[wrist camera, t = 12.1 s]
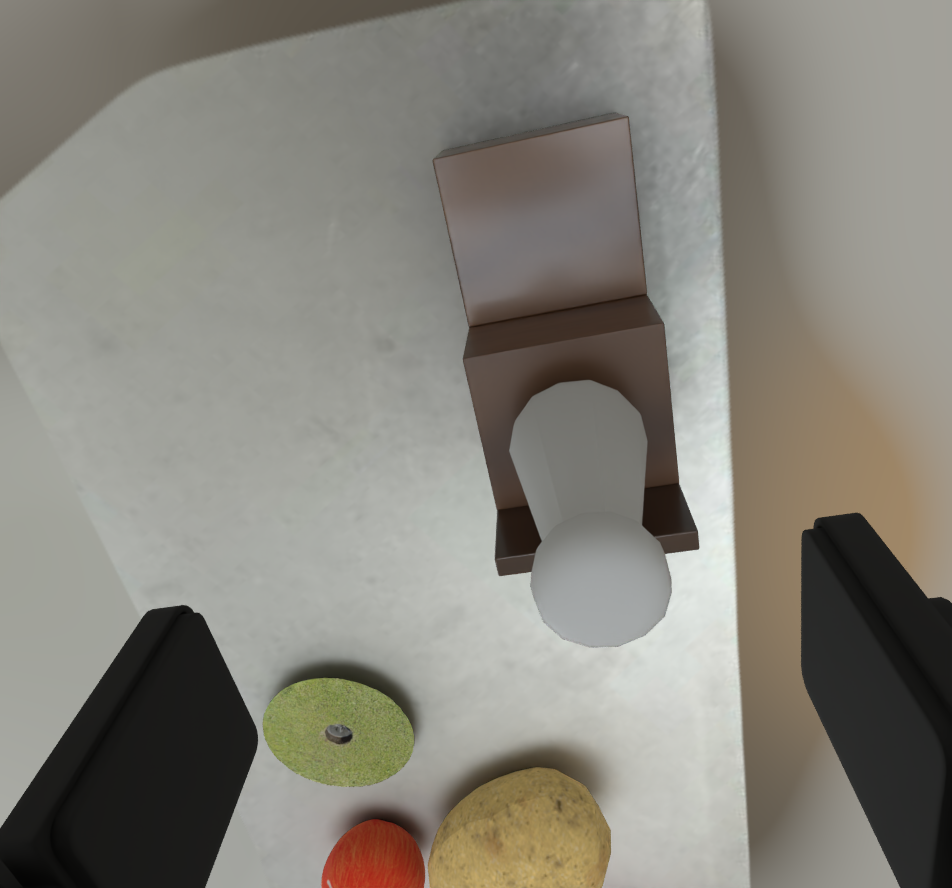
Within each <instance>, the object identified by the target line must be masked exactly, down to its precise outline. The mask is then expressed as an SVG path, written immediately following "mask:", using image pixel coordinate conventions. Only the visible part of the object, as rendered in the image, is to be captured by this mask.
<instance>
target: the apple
mask: <svg viewBox="0 0 952 888" xmlns="http://www.w3.org/2000/svg"><path fill="white" fill-rule="evenodd" d="M424 883H425V867H424V861H423V857H422V854H421V852H420V849H419V847H418V845H417V843H416V841H415V840H414V838H413V837H412V836H411V835H410V834H409V833H408V832H407V831H406V830H404V829H403V828H401V827H400V826H398V825H396V824H394V823H391V822H387V821H383V820H380V819H372V820H367V821H364V822H362V823H360V824H358V825H356V826H355V827H353V828H352V829H350V830H349V831H348V832H347V833H346V834H344V835H343V836H342V837H341V839H340V840H339V841H338V842H337V844H336V845H335V846H334V848H333V850H332V851H331V853H330V855H329V857H328V859H327V861H326V864H325V866H324V870H323V874H322V888H424Z"/></svg>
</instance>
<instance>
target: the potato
mask: <svg viewBox="0 0 952 888" xmlns="http://www.w3.org/2000/svg"><path fill="white" fill-rule="evenodd" d="M610 855H611V830H610V828H609V826H608V824H607V822H606V820H605V818H604V816H603V814H602V812H601V810H600V808H599V806H598V805H597V803H596V802H595V800H594V799H593V797H592V796H591V794H590V793H589V791H588V790H587V788H586V787H585V785H583V784H582V783H580V782H578V781H576V780H574V779H572V778H571V777H569V776H567V775H565V774H563V773H561V772H560V771H558V770H556V769H550V768H540V767H534V768H530V769H525V770H520V771H516V772H513V773H510V774H507V775H504V776H501V777H498V778H496V779H494V780H492V781H490V782H488V783H486V784H484V785H482V786H480V787H478V788H476V789H475V790H474V791H473V792H471V793H470V794H469V795H468V796H466V797H465V798H464V799H463V800H461V801H460V802H459V803H458V804H457V805H456V806H455V807H454V808H453V809H452V810H451V811H450V812H449V813H448V815H447V816H446V818H445V819H444V821H443V822H442V824H441V825H440V827H439V829H438V831H437V834H436V837H435V839H434V842H433V845H432V849H431V853H430V857H429V862H428V873H429V882H430V888H601V887H602V886H603V882H604V878H605V874H606V870H607V866H608V862H609V858H610Z"/></svg>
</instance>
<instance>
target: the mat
mask: <svg viewBox="0 0 952 888" xmlns="http://www.w3.org/2000/svg"><path fill="white" fill-rule="evenodd" d="M407 719H408V718H407V717H406V715H405V714H404V713H403V711H402V710H401V708H400V707H399V706H398V705H396V704H395V703H394V701H393V700H391V699H390V698H389V697H387V696H386V695H384V694H382V693H381V692H379V691H378V690H376V689H373V688H370V687H368V686H366V685H363V684H360V683H357V682H354V681H348V680H345V679H339V678H336V679H334V678H319V679H317V678H316V679H310V680H306V681H300V682H298V683H296V684H293V685H291V686H289V687H287V688H284V690H282V691H280V692H279V693H278V694H277V695H276V696H275V697H274V699H272V701H271V702H270V704H269V706H268V707H267V709H266V712H265V714H264V718H263V730H264V736H265V740H266V741H267V744H268V746H269V748H270V750H271V751H272V752H273V753H274V755H275V756H276V757H277V759H278V760H280V761H281V762H282V763H283V764H284V765H286V766H287V767H288V768H289V769H291V770H292V771H294V772H295V773H296V774H300V775H301V776H303V777H305V778H308V779H309V780H310V779H311V780H312V781H315V782H320V783H322V784H327V785H334V786H342V787H347V786H349V787H350V786H351V787H352V786H353V787H354V786H358V787H361V786H365V785H372V784H375V783H378V782H381V781H383V780H385V779H386V778H387V779H388V778H389V777H390V776H392V775H394V774H396V773H397V772H398V771H400V769H401V768H402V767H404V765H405V764H406V763H407V761H408V760H409V759H410V757H411V754H412V752H413V746H414V734H413V729H412V726H411V723H410V722H409V720H407Z"/></svg>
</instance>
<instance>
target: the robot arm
mask: <svg viewBox="0 0 952 888" xmlns="http://www.w3.org/2000/svg"><path fill="white" fill-rule="evenodd" d="M801 553H802V557H801V561H802V562H801V565H802V566H801V568H802V569H801V570H802V571H801V577H802V578H801V582H802V583H801V584H802V585H801V590H802V591H801V667H802V675H803V679H804V683H805V687H806V689H807V691H808V694H809V696H810V698H811V700H812V702H813V705H814V707H815V709H816V711H817V713H818V715H819V717H820V719H821V722H822V724H823V726H824V728H825V730H826V732H827V734H828V736H829V738H830V740H831V743H832V745H833V747H834V749H835V751H836V753H837V755H838V757H839V759H840V761H841V764H842V766H843V768H844V770H845V772H846V774H847V776H848V778H849V781H850V783H851V785H852V787H853V789H854V791H855V793H856V795H857V797H858V799H859V802H860V804H861V806H862V808H863V810H864V812H865V814H866V816H867V818H868V821H869V823H870V825H871V827H872V829H873V831H874V833H875V835H876V837H877V839H878V842H879V844H880V846H881V848H882V850H883V852H884V854H885V856H886V858H887V861H888V863H889V865H890V867H891V869H892V871H893V873H894V875H895V877H896V880H897V882H898V884H899V886H900V888H952V603H951V602H950V601H949V600H947V599H944V598H942V597H938V598H929V599H928V598H927V597H926V595H925V594H924V593H923V591H922V590H921V589H920V588H919V586H918V585H917V584H916V583H915V581H914V580H913V579H912V577H911V576H910V575H909V574H908V572H907V571H906V570H905V569H904V567H903V566H902V565H901V564H900V562H899V561H898V560H897V559H896V557H895V556H894V555H893V554H892V552H891V551H890V549H889V548H888V547H887V546H886V544H885V543H884V542H883V541H882V539H881V538H880V537H879V535H878V534H877V533H876V532H875V530H874V529H873V528H872V527H871V525H870V524H869V523H868V522H867V520H866V519H865V518H864V517H863V516H862V515H861V514H860V513H851V514H843V515H836V516H829V517H822V518H817V519H816V520H815V522H814V528H813V529H808V530H804V531H803V533H802V551H801ZM257 745H258V734H257V729H256V726H255V724H254V722H253V720H252V718H251V716H250V713H249V711H248V709H247V707H246V705H245V703H244V701H243V699H242V697H241V695H240V693H239V690H238V688H237V686H236V684H235V682H234V680H233V678H232V676H231V674H230V672H229V669H228V667H227V665H226V663H225V661H224V659H223V657H222V655H221V653H220V651H219V649H218V646H217V644H216V642H215V640H214V638H213V636H212V634H211V632H210V630H209V628H208V626H207V623H206V621H205V619H204V618H203V616H202V615H201V614H200V613H194V612H193V610H192V609H191V608H190V607H188V606H185V605H181V606H173V607H166V608H159V609H152V610H150V611H148V612H147V613H146V614H145V615H144V616H143V618H142V619H141V621H140V622H139V624H138V625H137V627H136V628H135V630H134V631H133V633H132V634H131V635H130V637H129V639H128V640H127V641H126V643H125V644H124V646H123V647H122V649H121V650H120V652H119V653H118V655H117V656H116V658H115V659H114V661H113V662H112V664H111V665H110V667H109V668H108V670H107V671H106V673H105V674H104V675H103V677H102V679H101V680H100V681H99V683H98V684H97V686H96V687H95V689H94V690H93V692H92V693H91V695H90V696H89V698H88V699H87V701H86V702H85V704H84V705H83V707H82V708H81V710H80V711H79V713H78V714H77V716H76V717H75V718H74V720H73V721H72V723H71V724H70V726H69V727H68V729H67V730H66V732H65V733H64V735H63V736H62V738H61V739H60V741H59V742H58V744H57V745H56V747H55V748H54V750H53V751H52V753H51V754H50V755H49V757H48V759H47V760H46V761H45V763H44V764H43V766H42V767H41V769H40V770H39V772H38V773H37V775H36V776H35V778H34V779H33V781H32V782H31V784H30V785H29V787H28V788H27V789H26V791H25V792H24V794H23V795H22V797H21V799H20V800H19V801H18V803H17V804H16V806H15V807H14V809H13V810H12V812H11V813H10V815H9V816H8V818H7V819H6V821H5V822H4V824H3V825H2V827H1V828H0V888H205V886H206V884H207V881H208V878H209V876H210V873H211V870H212V868H213V865H214V862H215V860H216V857H217V854H218V852H219V849H220V847H221V844H222V841H223V838H224V836H225V833H226V831H227V828H228V825H229V823H230V820H231V817H232V814H233V812H234V809H235V807H236V804H237V801H238V799H239V796H240V793H241V791H242V788H243V785H244V783H245V780H246V777H247V775H248V772H249V769H250V767H251V764H252V761H253V759H254V756H255V753H256V750H257Z"/></svg>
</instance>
